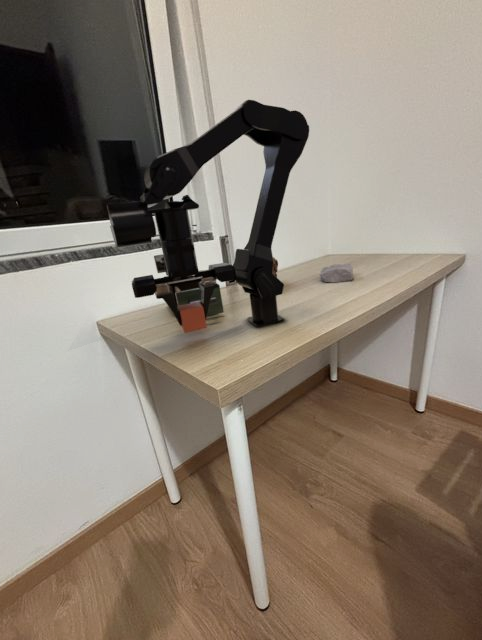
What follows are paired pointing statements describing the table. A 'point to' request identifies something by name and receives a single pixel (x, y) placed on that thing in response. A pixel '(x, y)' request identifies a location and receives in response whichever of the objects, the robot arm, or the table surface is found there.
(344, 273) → the stone block
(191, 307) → the block
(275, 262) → the wooden carving
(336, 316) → the table surface
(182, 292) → the drawer
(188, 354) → the table surface
